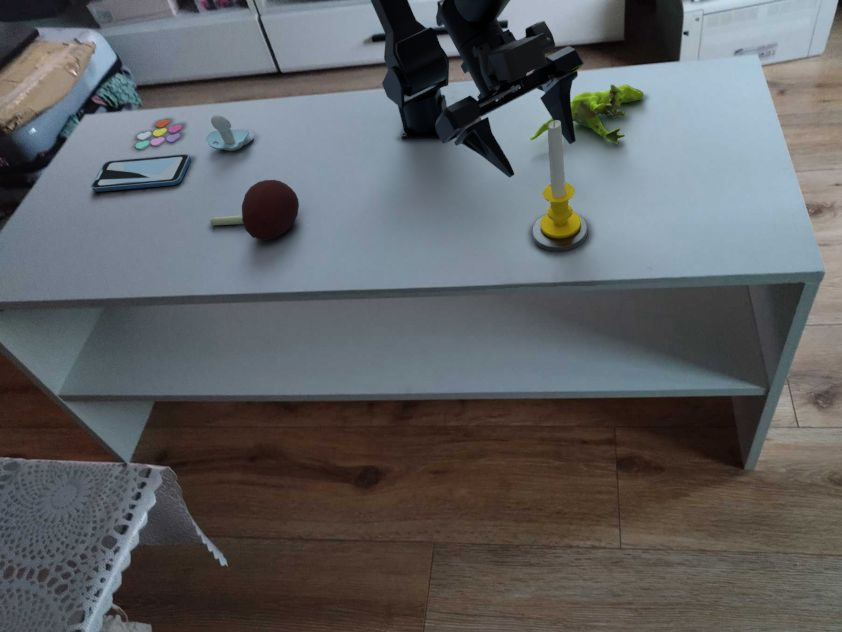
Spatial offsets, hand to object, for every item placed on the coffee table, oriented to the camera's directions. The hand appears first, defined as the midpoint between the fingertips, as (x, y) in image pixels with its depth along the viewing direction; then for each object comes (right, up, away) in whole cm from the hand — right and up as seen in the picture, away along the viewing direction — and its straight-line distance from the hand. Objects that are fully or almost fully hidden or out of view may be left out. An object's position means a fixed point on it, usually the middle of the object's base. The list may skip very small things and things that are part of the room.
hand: (542, 159), depth 85 cm
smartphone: (-62, +5, +30) cm, 69 cm away
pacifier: (-47, +11, +32) cm, 58 cm away
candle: (+3, -7, +6) cm, 10 cm away
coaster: (+3, -8, +6) cm, 10 cm away
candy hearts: (-62, +14, +38) cm, 74 cm away
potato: (-39, -4, +16) cm, 42 cm away
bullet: (-47, -4, +18) cm, 50 cm away
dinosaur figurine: (+9, +11, +20) cm, 25 cm away
